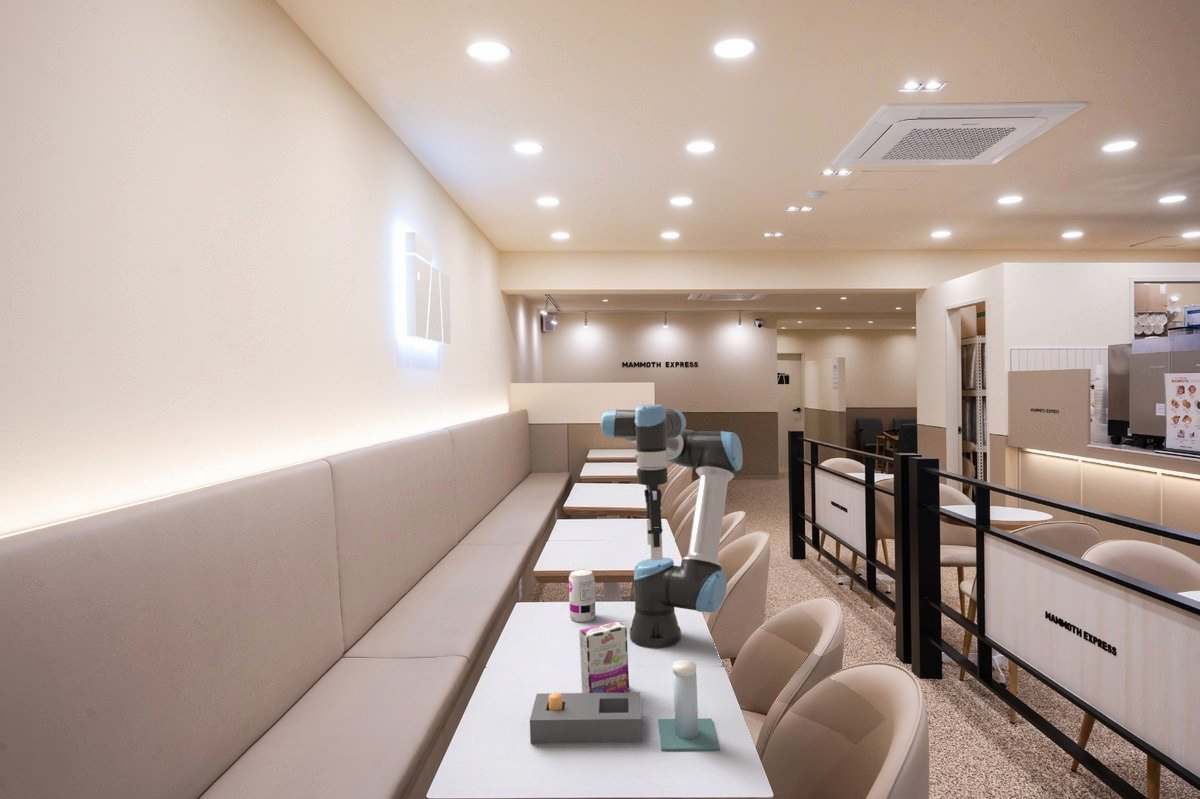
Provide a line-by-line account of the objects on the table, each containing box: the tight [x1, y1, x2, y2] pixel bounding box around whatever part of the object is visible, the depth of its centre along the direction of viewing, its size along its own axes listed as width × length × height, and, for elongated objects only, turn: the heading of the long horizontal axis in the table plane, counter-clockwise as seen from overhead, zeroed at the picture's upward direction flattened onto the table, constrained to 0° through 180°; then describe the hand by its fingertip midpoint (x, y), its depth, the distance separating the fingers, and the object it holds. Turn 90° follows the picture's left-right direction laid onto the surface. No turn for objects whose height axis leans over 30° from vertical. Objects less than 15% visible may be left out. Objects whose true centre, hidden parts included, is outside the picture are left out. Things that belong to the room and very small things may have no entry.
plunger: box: [549, 692, 563, 711], centre depth 150 cm, size 3×3×6 cm
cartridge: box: [672, 659, 699, 739], centre depth 146 cm, size 5×5×15 cm
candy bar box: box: [578, 620, 630, 693], centre depth 166 cm, size 11×5×16 cm, turn 117°
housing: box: [529, 691, 643, 744], centre depth 150 cm, size 24×12×5 cm, turn 88°
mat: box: [657, 717, 720, 752], centre depth 146 cm, size 12×12×1 cm
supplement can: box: [568, 568, 596, 623], centre depth 217 cm, size 8×8×15 cm
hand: (654, 551), depth 168 cm, fingers open, 13 cm apart
